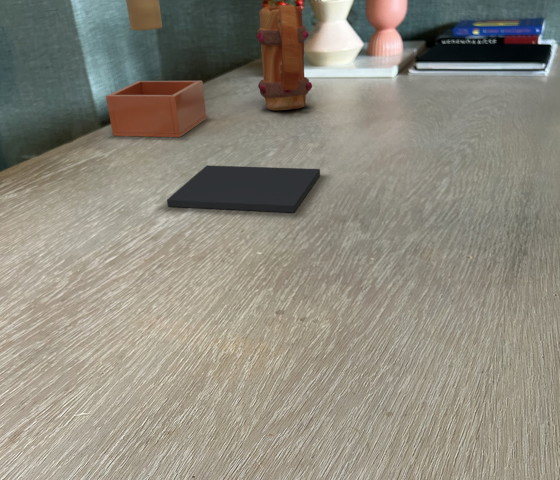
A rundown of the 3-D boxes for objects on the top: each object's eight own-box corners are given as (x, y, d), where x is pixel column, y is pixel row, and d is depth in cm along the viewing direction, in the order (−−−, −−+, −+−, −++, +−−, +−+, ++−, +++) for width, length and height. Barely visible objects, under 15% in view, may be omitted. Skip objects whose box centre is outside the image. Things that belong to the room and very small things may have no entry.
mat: (167, 206, 72) (166, 199, 71) (207, 171, 81) (206, 165, 81) (294, 213, 68) (293, 205, 68) (320, 175, 78) (320, 168, 77)
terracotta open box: (113, 135, 98) (105, 96, 95) (144, 117, 106) (138, 80, 103) (180, 137, 95) (174, 96, 92) (206, 118, 103) (202, 80, 100)
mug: (257, 103, 110) (250, -1, 102) (306, 99, 111) (303, -4, 102) (265, 125, 98) (258, 9, 90) (320, 121, 98) (318, 5, 90)
